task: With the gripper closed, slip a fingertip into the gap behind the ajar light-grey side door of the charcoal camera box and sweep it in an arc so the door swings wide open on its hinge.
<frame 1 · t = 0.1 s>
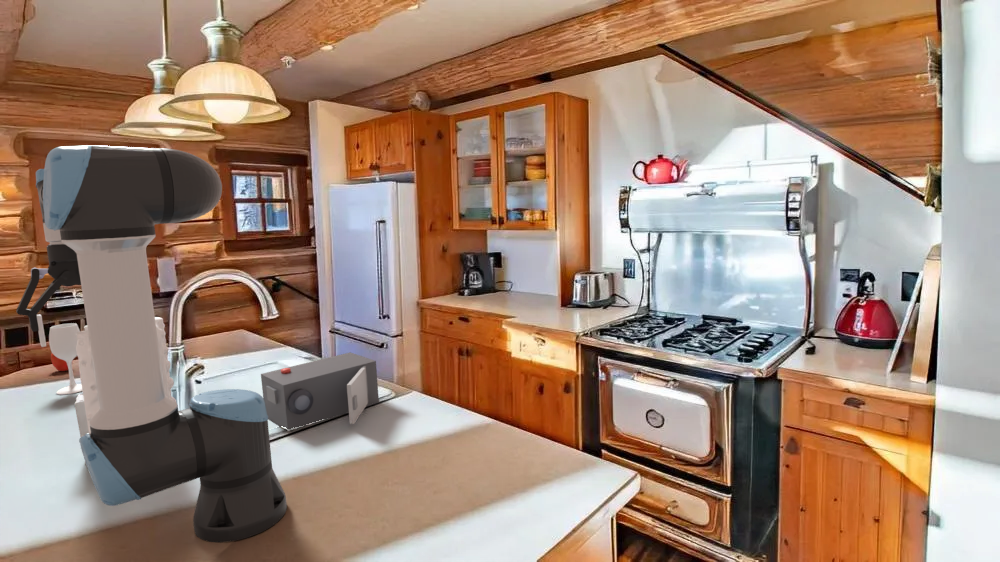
hand: (83, 339, 122), 28 cm above the worktop, fingers open, 13 cm apart
camera body: (323, 409, 151), on the worktop
apple: (64, 371, 199), on the worktop
side door: (359, 393, 144), point 6 cm above the worktop, hinge at 45.0°
wineglass: (73, 390, 176), on the worktop
vase: (140, 467, 122), on the worktop
skincare box: (101, 457, 127), on the worktop
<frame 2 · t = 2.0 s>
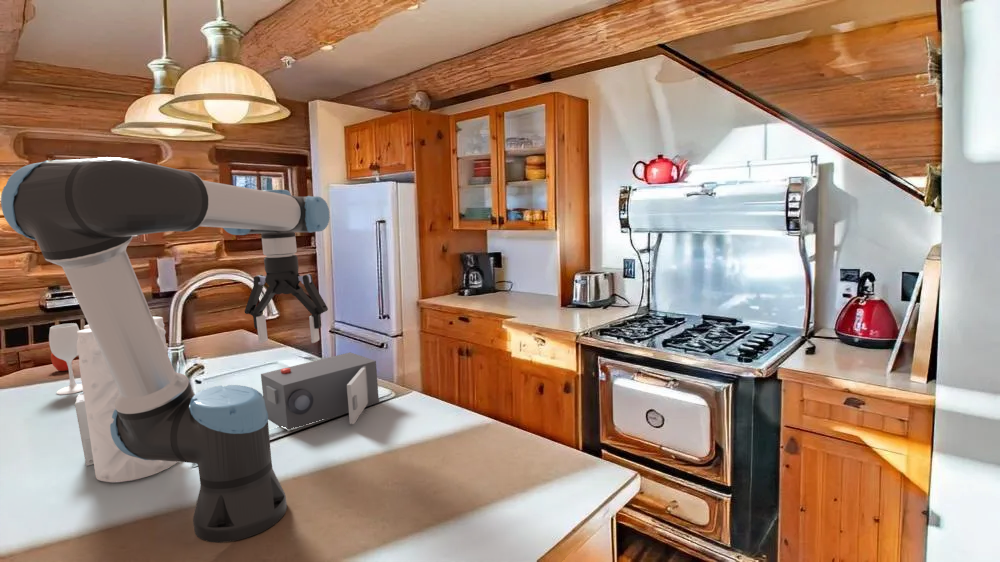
hand: (289, 341, 136), 22 cm above the worktop, fingers open, 13 cm apart
nothing on the worktop moved.
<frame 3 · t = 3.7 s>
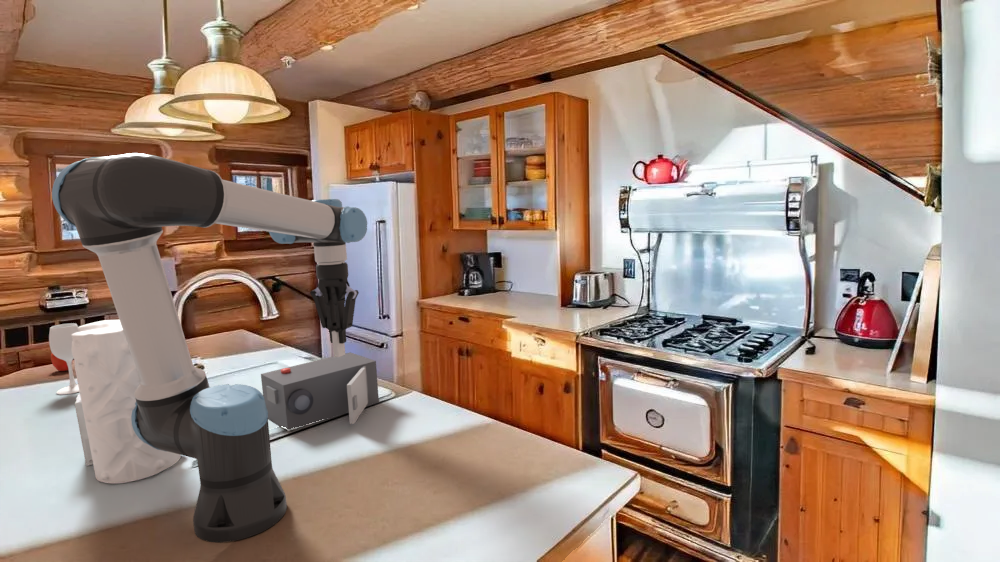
hand: (339, 355, 140), 17 cm above the worktop, fingers closed
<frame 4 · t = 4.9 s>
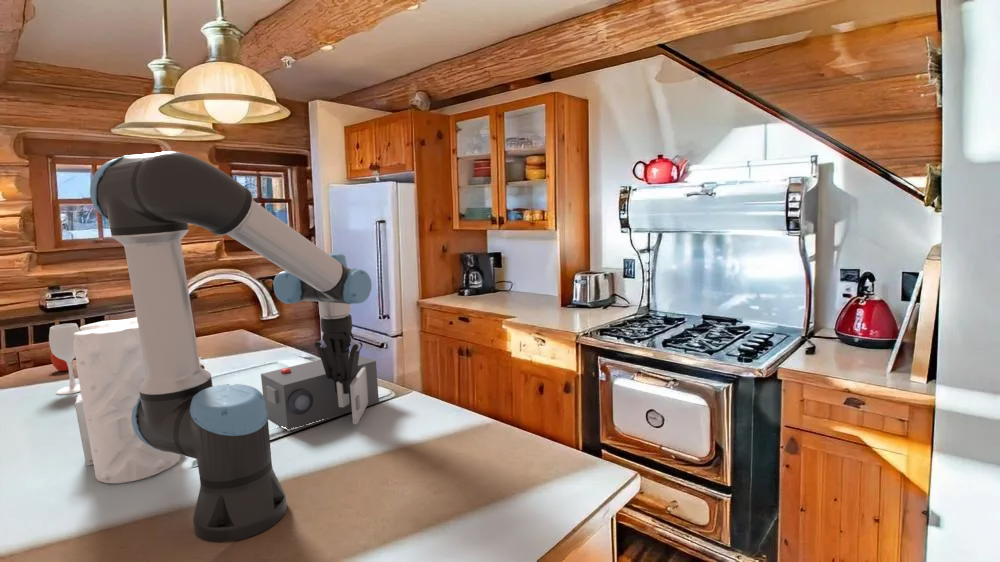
hand: (344, 405, 142), 4 cm above the worktop, fingers closed
side door: (361, 393, 144), point 6 cm above the worktop, hinge at 48.1°, touching gripper, hand
everything else where it was.
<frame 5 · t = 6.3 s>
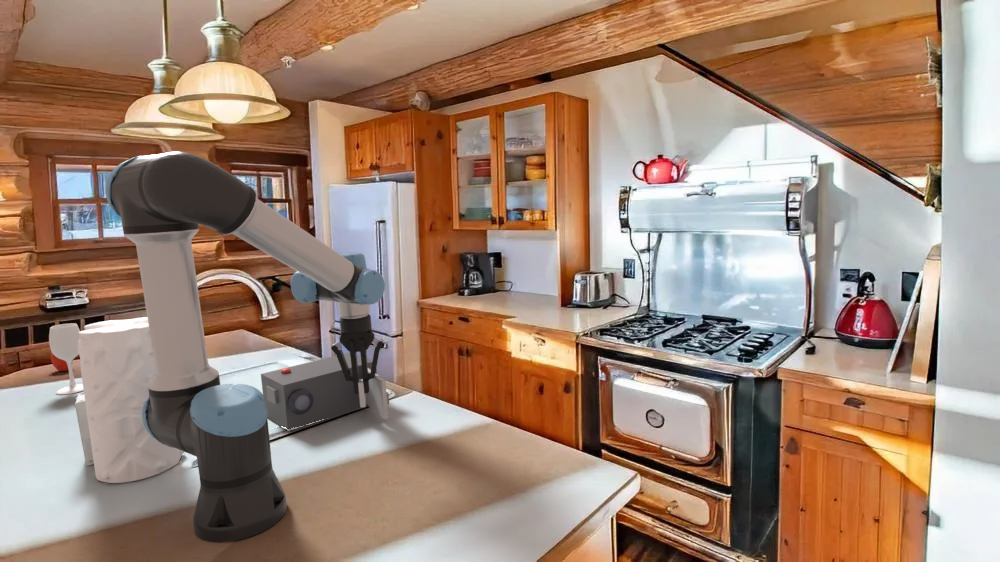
hand: (363, 405, 142), 4 cm above the worktop, fingers closed
side door: (375, 391, 145), point 6 cm above the worktop, hinge at 77.9°, touching gripper, hand
everything else where it was.
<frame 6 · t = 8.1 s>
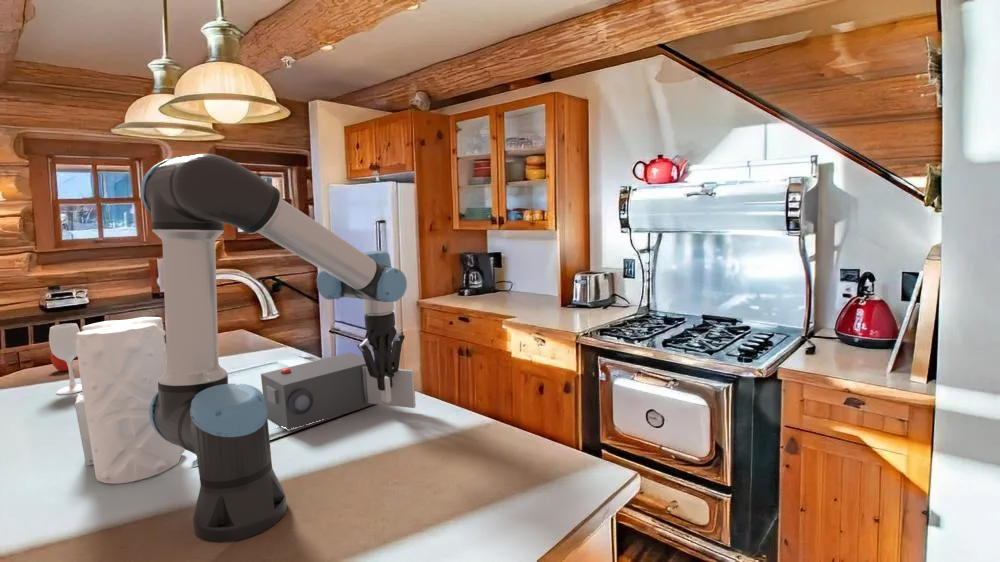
hand: (386, 400, 144), 4 cm above the worktop, fingers closed
side door: (388, 386, 148), point 6 cm above the worktop, hinge at 115.3°, touching gripper, hand
everything else where it was.
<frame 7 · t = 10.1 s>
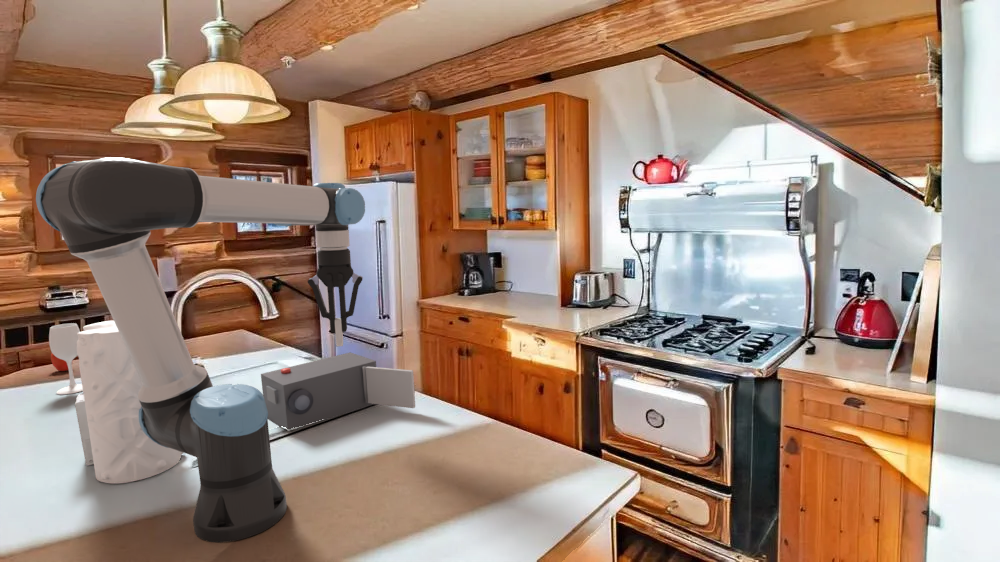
hand: (339, 345, 136), 21 cm above the worktop, fingers closed
side door: (388, 386, 148), point 6 cm above the worktop, hinge at 114.7°
everything else where it was.
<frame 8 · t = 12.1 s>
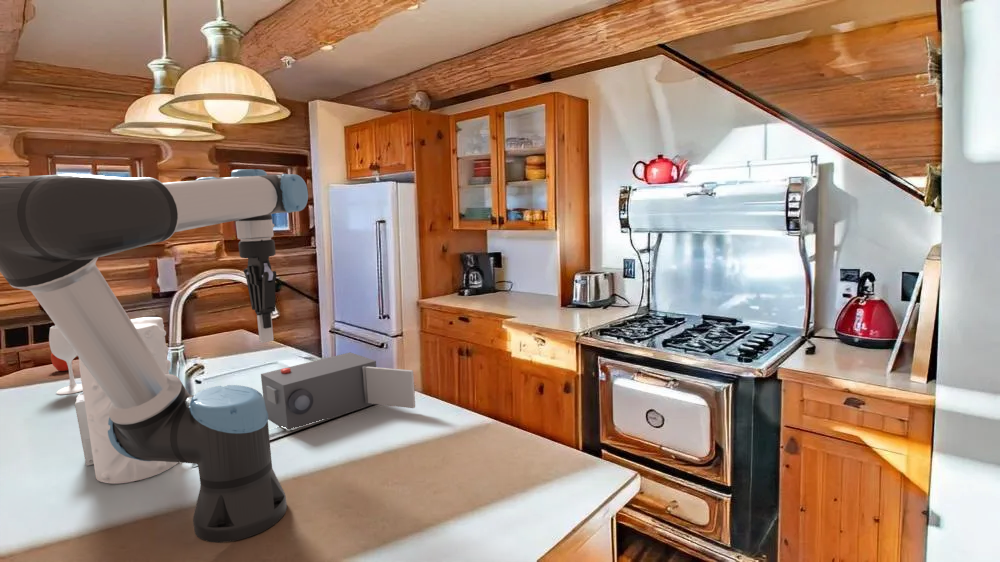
hand: (266, 341, 129), 24 cm above the worktop, fingers closed
nothing on the worktop moved.
at the end: side door at +115° (first picture: +45°) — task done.
